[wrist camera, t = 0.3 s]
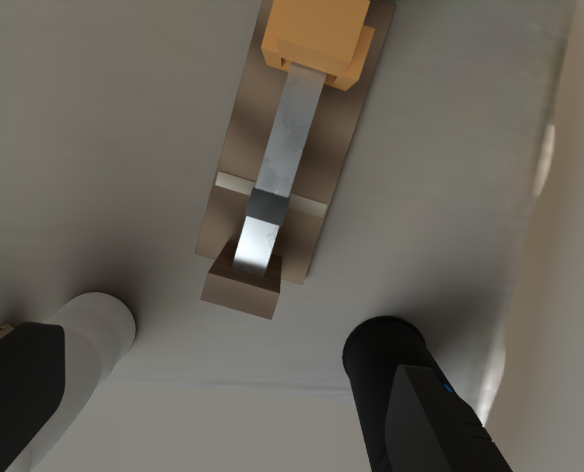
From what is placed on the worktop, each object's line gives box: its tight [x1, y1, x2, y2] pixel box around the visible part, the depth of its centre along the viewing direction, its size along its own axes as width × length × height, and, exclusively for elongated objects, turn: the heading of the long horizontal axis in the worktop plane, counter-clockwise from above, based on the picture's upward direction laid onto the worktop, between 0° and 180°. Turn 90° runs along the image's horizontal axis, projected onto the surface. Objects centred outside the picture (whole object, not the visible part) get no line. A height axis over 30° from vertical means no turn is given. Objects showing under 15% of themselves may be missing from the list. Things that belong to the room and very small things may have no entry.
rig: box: [195, 0, 396, 320], centre depth 31 cm, size 24×10×10 cm, turn 163°
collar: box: [261, 0, 375, 91], centre depth 26 cm, size 3×6×10 cm, turn 73°
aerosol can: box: [342, 317, 456, 472], centre depth 31 cm, size 8×8×20 cm
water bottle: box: [5, 292, 136, 472], centre depth 28 cm, size 7×7×25 cm
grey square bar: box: [232, 61, 327, 277], centre depth 29 cm, size 20×3×3 cm, turn 163°
